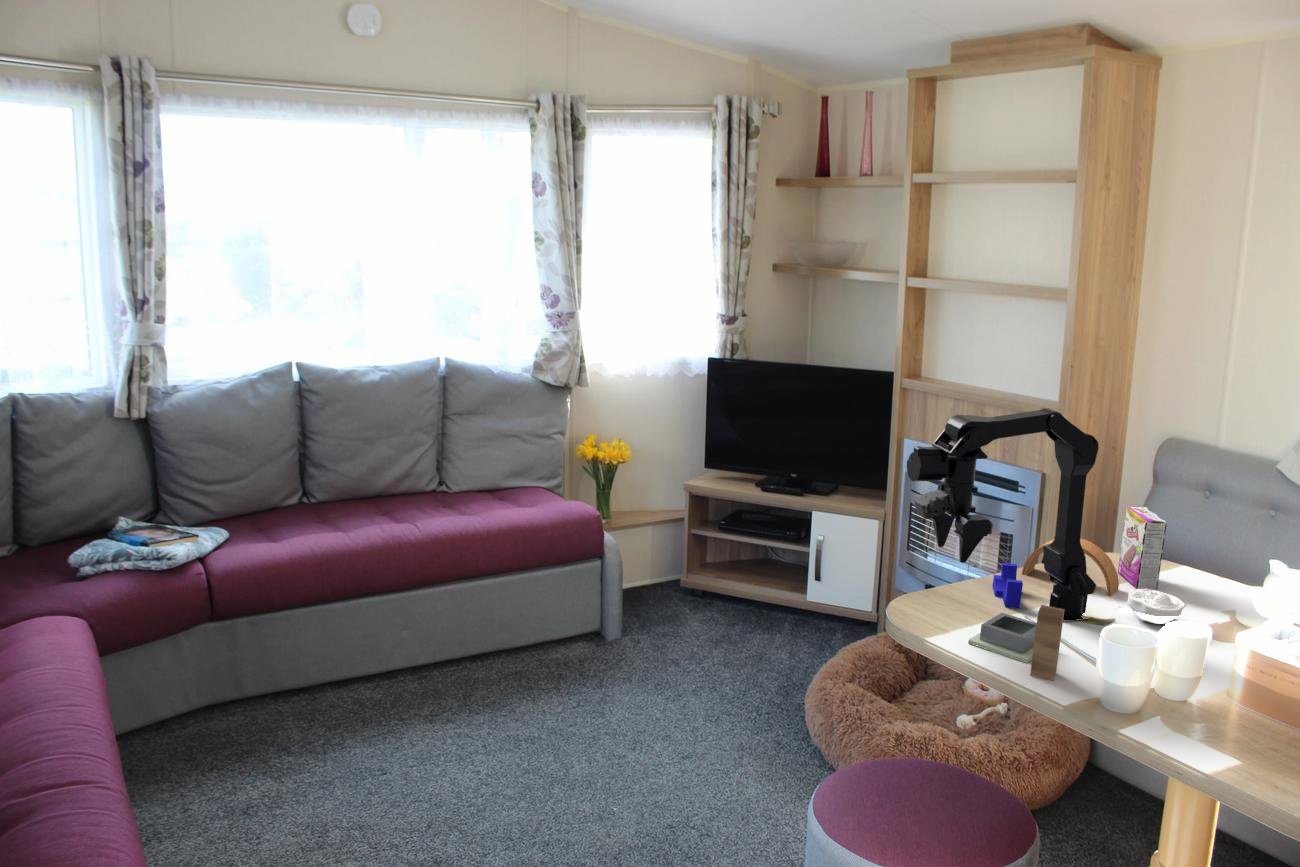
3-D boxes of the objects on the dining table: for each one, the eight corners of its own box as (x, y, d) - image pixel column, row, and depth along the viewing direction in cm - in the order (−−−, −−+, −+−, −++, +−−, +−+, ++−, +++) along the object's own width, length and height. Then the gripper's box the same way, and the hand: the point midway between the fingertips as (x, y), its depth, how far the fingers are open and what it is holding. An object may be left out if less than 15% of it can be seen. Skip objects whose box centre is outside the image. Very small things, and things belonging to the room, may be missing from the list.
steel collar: (1000, 627, 220) (1001, 612, 220) (1043, 640, 215) (1045, 625, 214) (979, 639, 214) (981, 624, 213) (1023, 654, 208) (1025, 638, 207)
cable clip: (992, 587, 245) (995, 562, 244) (1013, 589, 244) (1016, 564, 243) (997, 607, 234) (1000, 580, 232) (1019, 609, 233) (1022, 583, 231)
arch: (1030, 568, 258) (1035, 527, 256) (1118, 590, 246) (1124, 548, 244) (1021, 574, 254) (1026, 533, 251) (1110, 597, 242) (1116, 554, 239)
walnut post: (1033, 667, 205) (1041, 604, 202) (1056, 672, 203) (1064, 609, 200) (1030, 675, 201) (1038, 611, 198) (1052, 680, 199) (1061, 616, 196)
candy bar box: (1115, 572, 257) (1125, 505, 253) (1137, 573, 257) (1147, 506, 253) (1135, 590, 246) (1146, 520, 242) (1158, 591, 246) (1168, 521, 242)
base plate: (995, 626, 223) (996, 622, 223) (1053, 645, 215) (1054, 641, 215) (968, 643, 214) (968, 639, 214) (1027, 663, 206) (1027, 659, 206)
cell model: (1160, 609, 235) (1165, 580, 234) (1191, 632, 224) (1196, 601, 222) (1115, 609, 235) (1119, 579, 233) (1143, 632, 223) (1148, 601, 221)
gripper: (901, 468, 224) (894, 540, 228) (944, 494, 206) (936, 572, 210) (950, 466, 227) (943, 538, 230) (998, 492, 209) (989, 570, 212)
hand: (951, 554), depth 221 cm, fingers open, 9 cm apart
